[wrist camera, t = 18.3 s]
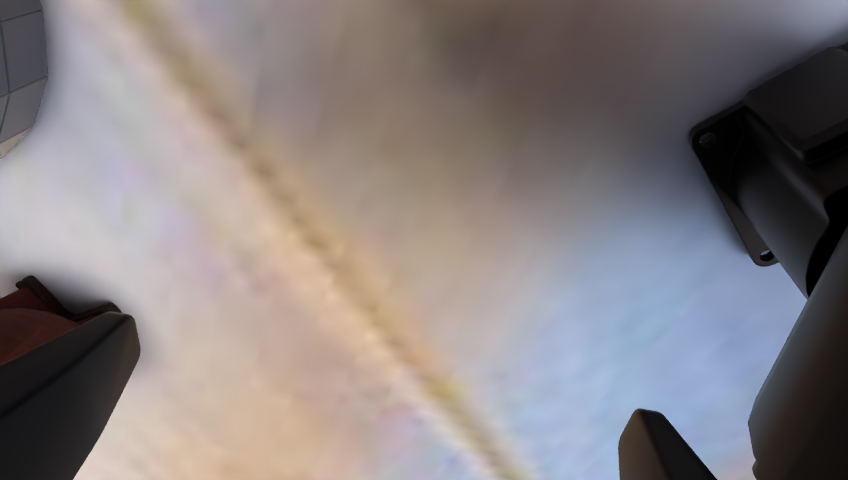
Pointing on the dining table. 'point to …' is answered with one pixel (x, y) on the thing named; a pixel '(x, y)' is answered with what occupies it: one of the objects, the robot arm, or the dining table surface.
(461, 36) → the dining table surface
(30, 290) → the mate gourd
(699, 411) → the dining table surface
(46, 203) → the dining table surface
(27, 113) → the large metal bowl
